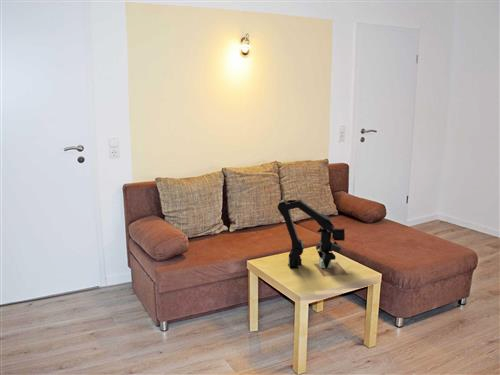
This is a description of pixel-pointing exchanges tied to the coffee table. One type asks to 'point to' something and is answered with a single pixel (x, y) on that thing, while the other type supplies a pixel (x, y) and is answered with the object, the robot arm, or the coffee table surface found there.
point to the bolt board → (332, 270)
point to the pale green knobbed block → (323, 263)
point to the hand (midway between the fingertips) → (324, 266)
